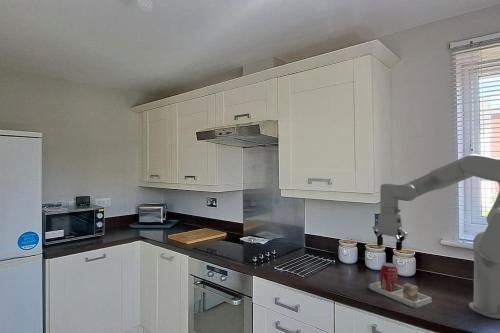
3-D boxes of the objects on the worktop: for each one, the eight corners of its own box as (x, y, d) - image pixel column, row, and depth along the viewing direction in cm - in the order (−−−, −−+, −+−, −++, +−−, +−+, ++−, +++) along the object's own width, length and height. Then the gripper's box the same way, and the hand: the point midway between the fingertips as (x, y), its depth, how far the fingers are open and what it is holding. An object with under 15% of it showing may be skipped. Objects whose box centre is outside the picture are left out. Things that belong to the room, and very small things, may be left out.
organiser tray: (431, 303, 127) (431, 297, 127) (415, 309, 121) (415, 303, 121) (385, 285, 146) (385, 280, 146) (368, 289, 140) (368, 284, 140)
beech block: (417, 300, 128) (417, 286, 128) (411, 302, 126) (411, 288, 126) (408, 296, 131) (408, 283, 132) (402, 298, 130) (403, 284, 130)
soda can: (383, 286, 143) (383, 261, 143) (399, 290, 138) (399, 264, 138) (378, 291, 137) (378, 264, 137) (395, 295, 133) (395, 268, 133)
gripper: (412, 212, 133) (412, 251, 133) (378, 208, 148) (378, 242, 148) (401, 213, 129) (401, 253, 129) (368, 208, 144) (368, 244, 144)
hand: (389, 247), depth 138 cm, fingers open, 9 cm apart
